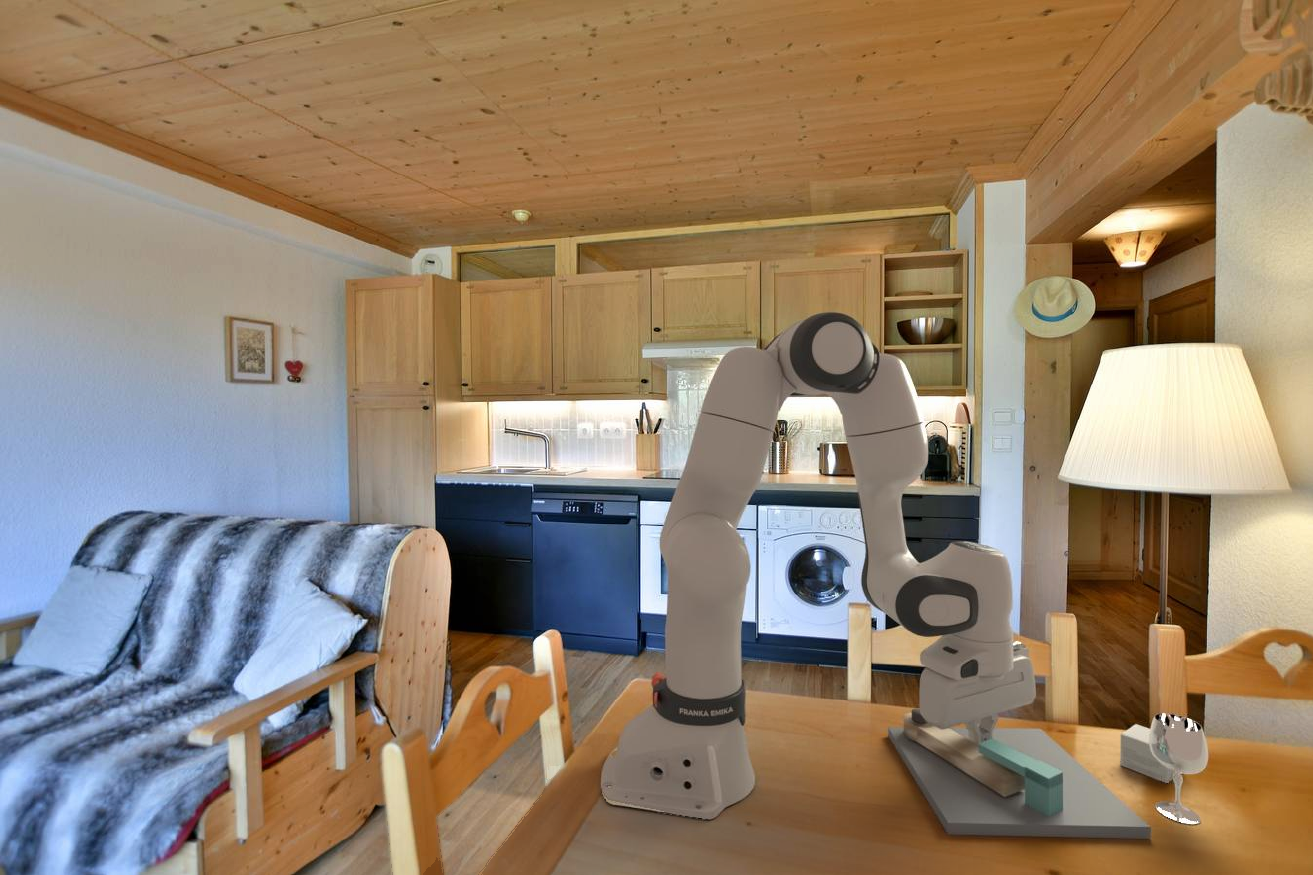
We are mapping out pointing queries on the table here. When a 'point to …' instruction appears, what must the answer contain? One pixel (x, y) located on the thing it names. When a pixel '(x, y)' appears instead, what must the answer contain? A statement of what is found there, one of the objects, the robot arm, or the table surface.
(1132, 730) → the small box
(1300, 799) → the table surface
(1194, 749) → the wineglass
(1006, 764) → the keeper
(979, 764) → the link
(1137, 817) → the base board
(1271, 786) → the table surface
